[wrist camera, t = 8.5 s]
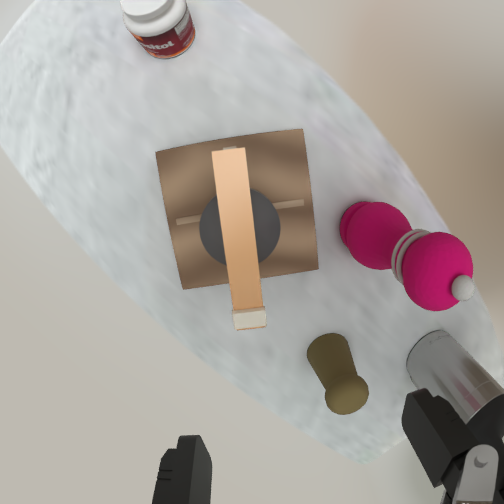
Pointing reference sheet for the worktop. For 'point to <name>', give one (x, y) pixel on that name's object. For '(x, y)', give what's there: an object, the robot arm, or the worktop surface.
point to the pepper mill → (409, 254)
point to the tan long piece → (240, 234)
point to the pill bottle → (159, 25)
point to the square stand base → (260, 178)
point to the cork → (337, 373)
